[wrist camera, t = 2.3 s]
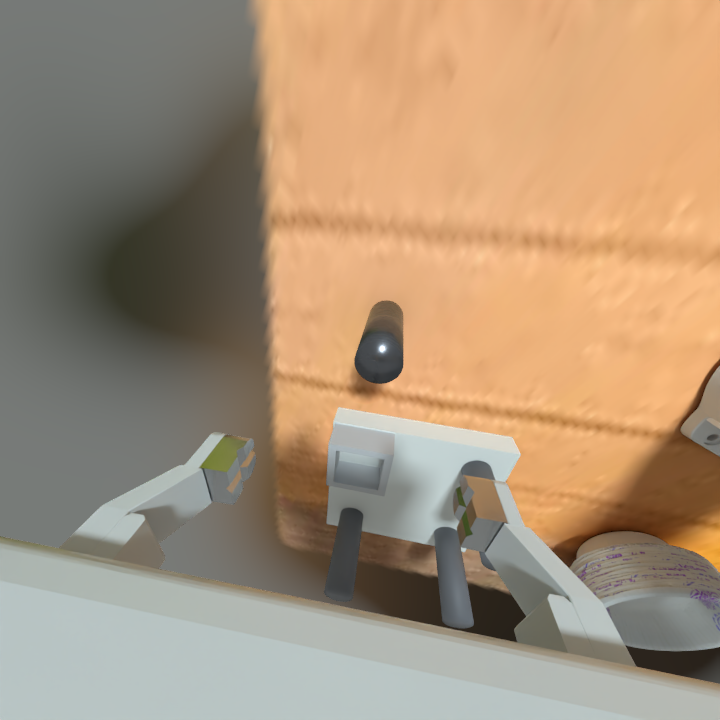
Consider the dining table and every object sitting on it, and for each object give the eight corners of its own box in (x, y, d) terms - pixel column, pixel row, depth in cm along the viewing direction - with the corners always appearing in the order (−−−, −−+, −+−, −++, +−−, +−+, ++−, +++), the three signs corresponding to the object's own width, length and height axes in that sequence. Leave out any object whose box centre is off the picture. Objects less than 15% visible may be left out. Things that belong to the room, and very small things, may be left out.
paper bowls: (530, 551, 40) (557, 622, 33) (625, 500, 32) (685, 578, 25) (611, 588, 41) (653, 663, 34) (719, 547, 34) (800, 633, 27)
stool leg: (410, 315, 25) (413, 362, 17) (387, 338, 26) (381, 391, 19) (384, 293, 24) (375, 331, 17) (362, 318, 26) (345, 364, 18)
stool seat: (512, 437, 30) (566, 548, 20) (461, 533, 40) (480, 640, 30) (338, 407, 31) (308, 497, 21) (330, 507, 41) (307, 601, 31)
